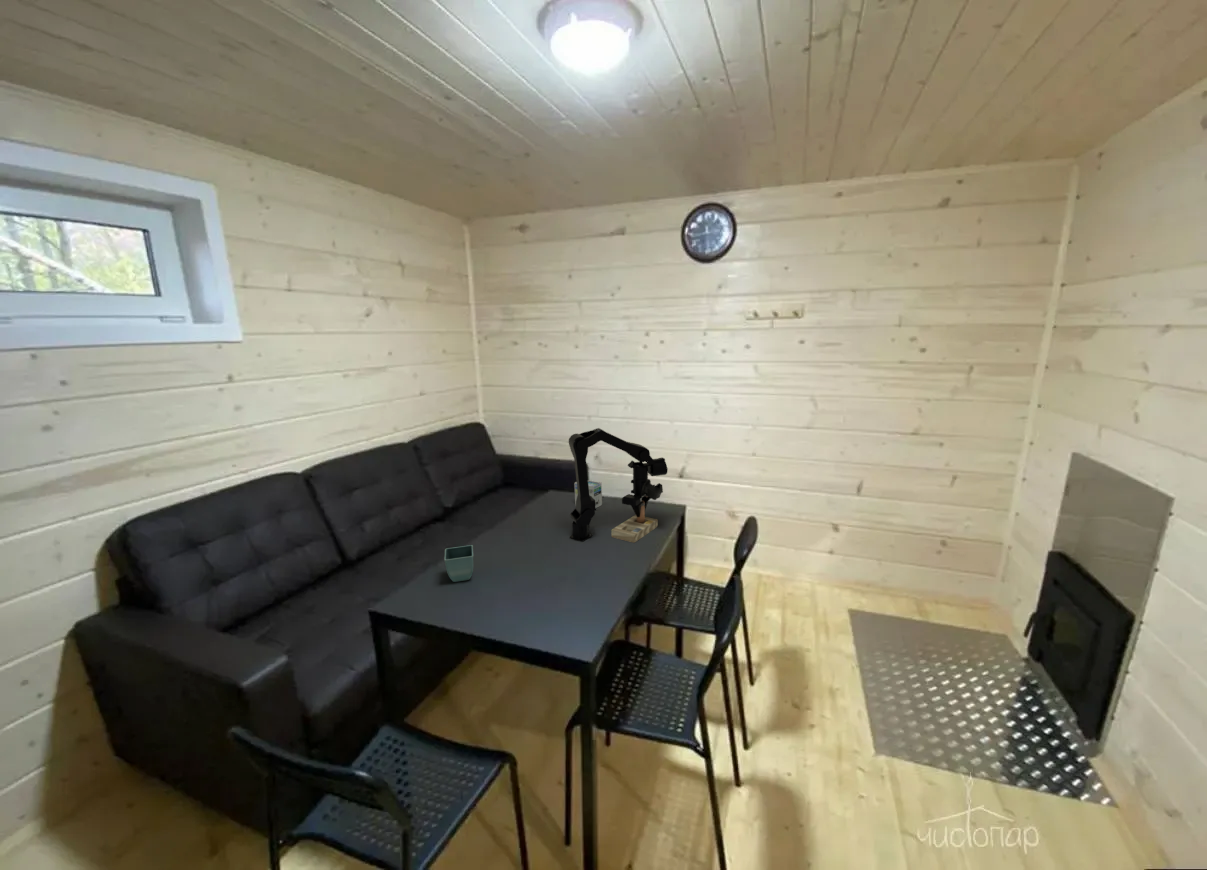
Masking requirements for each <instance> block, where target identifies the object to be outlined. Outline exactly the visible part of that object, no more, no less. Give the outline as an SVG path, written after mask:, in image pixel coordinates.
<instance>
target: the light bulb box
mask: <svg viewBox="0 0 1207 870" xmlns="http://www.w3.org/2000/svg"><path fill="white" fill-rule="evenodd" d="M573 486H574V506H576V499H577V496H578V490H577V481H575V482H574V484H573ZM588 486H589V495H590V496H592V497H593V499H594V500H595V508H596V509H597V508H599V507H601V506H602V505H603V494H602V493H603V491H602V490H603V489H602V487H603V486H602V482H601V481H595V480H589V479H588Z"/></svg>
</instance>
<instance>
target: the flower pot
mask: <svg viewBox="0 0 1207 870" xmlns="http://www.w3.org/2000/svg"><path fill="white" fill-rule="evenodd" d="M443 558H444V565H445V569H446V573H447V575H448V577H449V579H450V580H451V581H452V582H453V583H457V582H463V581H464V582H465V581H468V580H470V579H471V577H472V575H473V572H474V545H473V544H471V545H469V544H468V545H463V546H456V547H447V548H445V549H444V557H443Z"/></svg>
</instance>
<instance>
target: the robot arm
mask: <svg viewBox="0 0 1207 870" xmlns="http://www.w3.org/2000/svg"><path fill="white" fill-rule="evenodd" d="M598 442H603V443H605V444H608V445H610V446H612V447H615V448H617V449H619V450H621V451H623V452H624V453H626V454H627V455H629V456H631V458H634V459H635V460H637V461H636V462H635V461H634V460H631V461H630V462H629V463H628V464H627V467H628V468H630V469H632V479H631V480H630V483H631V484H632V490H630V493H631V494H629V493H627V494H626V495H624V496H622V498H621V504H622V505H627V506H630V507H631V508H632V510H633V512H634V513H635V515H636V516H637V517H640V512H641V505H642V504H643V503H644V502H643V501H645V511H646V510H647V507H648V503H649V501H650V500H653V501H656V500H657V499H660V497H661V494H662V493H664V489H663V484H662V483H657V484H652V483H651V482H652V481H651V479H649V475H650V476H651V477H659V476H665V475H667V474H668V469H669V468H668V467H667V463H666V459H665V458H664V457H658V458H653V457H652V456H651V453H650V449H648V448H647V447H645V446H644V445H641V444H639V443H635V442H631V441H626V440H624V439H622V438H619V437H618V436H616V435H613V434H611V433H609V432H607V431H605V430H604V429H601V428H600V427H598V428H595V429H592V430H588V431H583V432H581V433H573V434H571V435H570V436H569V438H568V446H569V449H570V452H571V454H572V457H573V461H574V469H575V479H576V481H575V482H577V490H578V496H577V499H576V505H575V508H574V509H573V510H572V511H571V512H570V514H569V515H570V518H571V519H572V523H571V527H572V528H571V529H572V535H570V536H569V539H572V540H575V541H580V542H584V541H587V539H589V538H591V537H592V536H593V533H590V525H591V520H592V519H593V518H594V516H595V515H596V511H597V508H595V500H594V499H593V497H592V496H590V495H589V486H588V480H589V476H588V469H587V457H588V452H589V448H590V447H591V448H592V446H594V445H596V444H597V443H598ZM642 500H643V501H642Z"/></svg>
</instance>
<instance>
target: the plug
mask: <svg viewBox="0 0 1207 870" xmlns="http://www.w3.org/2000/svg"><path fill="white" fill-rule="evenodd" d="M642 501H643V500H642ZM643 502H644V503H643V504H642V505H641V512H640V517H637V523H642V524H644V523H645V517H646V516H645V515H646V510H645V501H643Z"/></svg>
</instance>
